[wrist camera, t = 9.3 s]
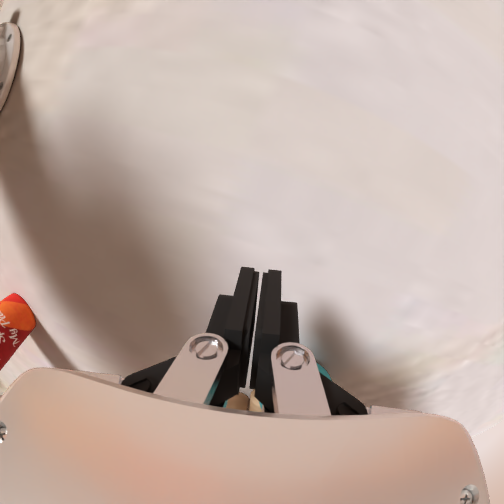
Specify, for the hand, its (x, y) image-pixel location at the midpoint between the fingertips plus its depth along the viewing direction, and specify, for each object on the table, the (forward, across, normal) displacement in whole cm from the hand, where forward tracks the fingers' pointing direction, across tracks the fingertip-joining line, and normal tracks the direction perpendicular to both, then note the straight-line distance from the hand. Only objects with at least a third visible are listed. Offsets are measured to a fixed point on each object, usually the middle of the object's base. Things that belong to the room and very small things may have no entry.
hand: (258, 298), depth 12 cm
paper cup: (+8, +31, +14) cm, 35 cm away
